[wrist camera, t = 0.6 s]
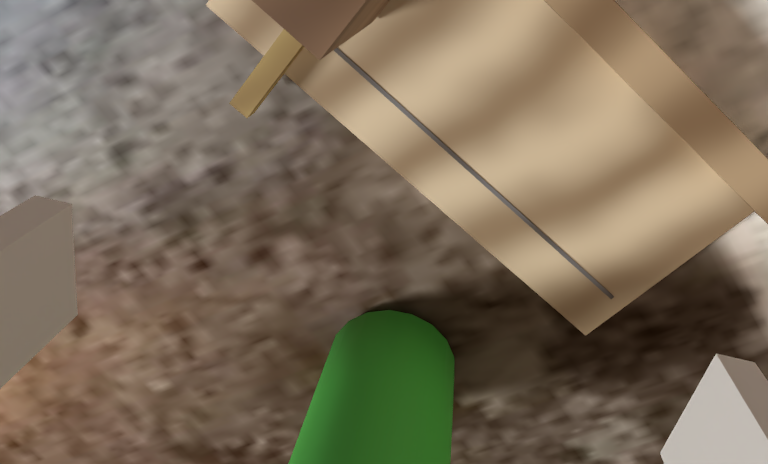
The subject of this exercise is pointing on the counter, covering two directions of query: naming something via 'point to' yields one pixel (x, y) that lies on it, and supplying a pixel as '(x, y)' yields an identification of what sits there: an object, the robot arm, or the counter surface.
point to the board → (540, 137)
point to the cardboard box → (303, 39)
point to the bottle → (382, 395)
